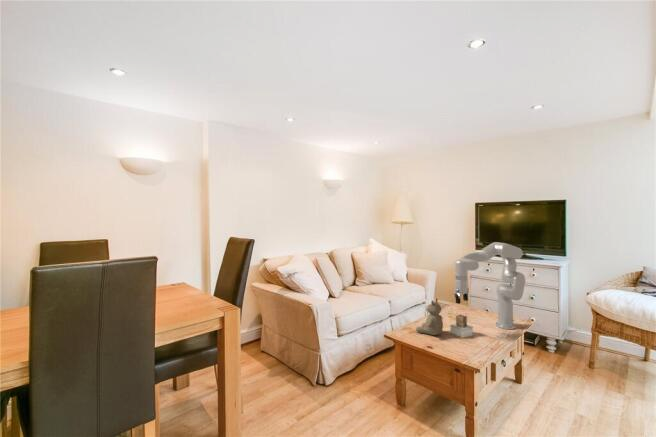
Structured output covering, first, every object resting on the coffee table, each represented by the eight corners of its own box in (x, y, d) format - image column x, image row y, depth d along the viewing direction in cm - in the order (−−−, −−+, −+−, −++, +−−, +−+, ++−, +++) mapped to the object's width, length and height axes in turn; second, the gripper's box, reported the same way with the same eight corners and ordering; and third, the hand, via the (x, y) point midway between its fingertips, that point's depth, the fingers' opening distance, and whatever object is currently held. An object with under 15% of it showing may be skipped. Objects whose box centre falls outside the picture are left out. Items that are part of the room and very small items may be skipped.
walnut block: (460, 323, 215) (460, 314, 215) (466, 325, 211) (466, 316, 210) (456, 325, 212) (456, 315, 212) (462, 327, 208) (462, 317, 208)
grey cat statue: (425, 325, 227) (425, 293, 226) (446, 331, 216) (446, 297, 215) (412, 334, 212) (411, 299, 211) (434, 340, 201) (434, 304, 200)
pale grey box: (460, 330, 218) (460, 322, 218) (473, 335, 209) (473, 327, 208) (450, 332, 214) (450, 324, 214) (462, 338, 204) (462, 329, 204)
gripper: (462, 275, 218) (463, 298, 219) (449, 279, 208) (450, 303, 209) (472, 276, 212) (473, 300, 213) (459, 280, 202) (460, 305, 203)
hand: (461, 301), depth 211 cm, fingers open, 9 cm apart
